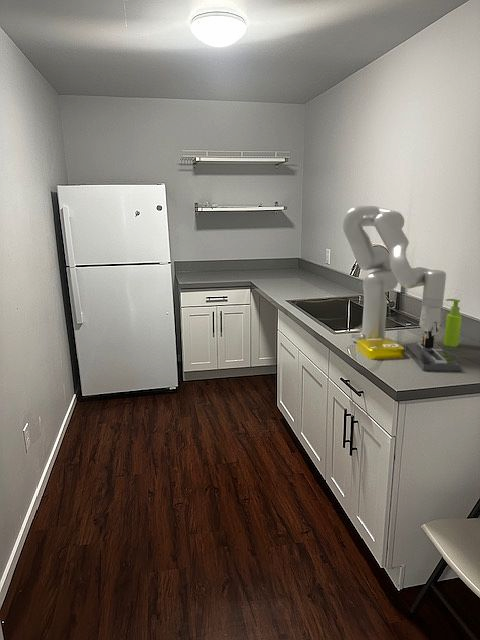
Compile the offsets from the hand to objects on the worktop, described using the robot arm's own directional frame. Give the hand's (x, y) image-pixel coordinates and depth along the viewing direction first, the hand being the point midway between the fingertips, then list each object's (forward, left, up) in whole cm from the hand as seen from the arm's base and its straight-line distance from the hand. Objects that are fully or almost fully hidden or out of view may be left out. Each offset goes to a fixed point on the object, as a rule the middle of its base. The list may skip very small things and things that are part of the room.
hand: (427, 346), depth 181 cm
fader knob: (0, 0, -1) cm, 1 cm away
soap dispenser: (+15, +17, -4) cm, 23 cm away
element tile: (-18, +4, -5) cm, 19 cm away
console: (0, -4, -4) cm, 6 cm away
